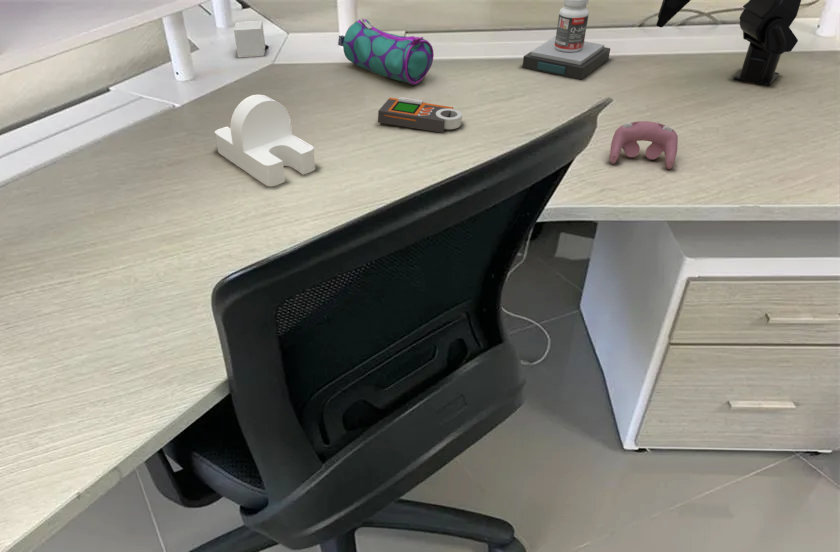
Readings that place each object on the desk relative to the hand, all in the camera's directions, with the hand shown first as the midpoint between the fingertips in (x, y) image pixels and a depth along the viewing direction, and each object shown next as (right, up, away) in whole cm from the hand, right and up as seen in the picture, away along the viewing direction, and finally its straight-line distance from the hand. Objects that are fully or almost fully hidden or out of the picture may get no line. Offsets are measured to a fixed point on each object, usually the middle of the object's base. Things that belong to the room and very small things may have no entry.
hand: (659, 22), depth 127 cm
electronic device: (-43, -18, +2) cm, 47 cm away
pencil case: (-48, -2, +21) cm, 53 cm away
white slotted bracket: (-71, -27, -6) cm, 76 cm away
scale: (-11, 0, +19) cm, 22 cm away
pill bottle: (-11, +2, +17) cm, 21 cm away
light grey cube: (-79, +9, +36) cm, 87 cm away
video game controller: (-9, -29, -14) cm, 33 cm away
